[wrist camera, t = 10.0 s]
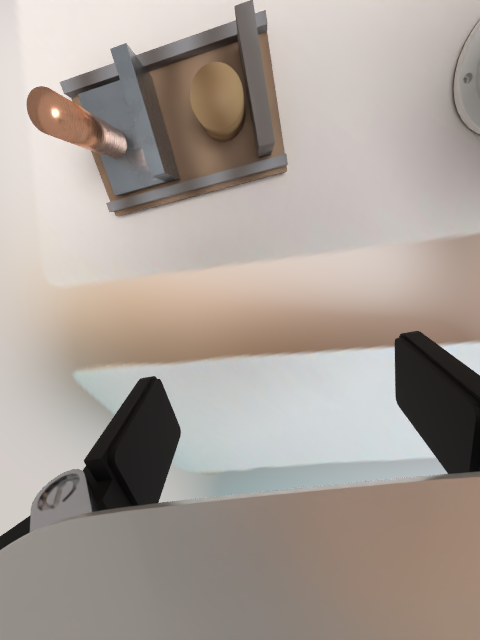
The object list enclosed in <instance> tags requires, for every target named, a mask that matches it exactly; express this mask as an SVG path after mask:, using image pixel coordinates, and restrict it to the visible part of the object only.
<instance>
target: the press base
mask: <svg viewBox="0 0 480 640" xmlns="http://www.w3.org/2000/svg"><path fill="white" fill-rule="evenodd" d="M235 15H236V21H233V22H230V23H227V24H224V25H221V26H219V27H216V28H213V29H210V30H207V31H204V32H201V33H199V34H196V35H193V36H190V37H187V38H184V39H182V40H179V41H176V42H173V43H170V44H167V45H164V46H162V47H159V48H156V49H153V50H150V51H147V52H144V53H142V54H139V55H136V57H137V58H138V59H139V60H140V62H141V63H142V64H143V66H144V67H145V68H146V70H147V71H148V72H149V73H150V75H151V76H152V79H153V83H154V87H155V90H156V94H157V97H158V101H159V104H160V108H161V112H162V115H163V119H164V122H165V126H166V129H167V133H168V137H169V140H170V144H171V147H172V151H173V154H174V158H175V162H176V165H177V169H178V172H179V176H180V180H176V181H172V182H169V183H165V184H162V185H158V186H154V187H151V188H147V189H143V190H140V191H136V192H133V193H129V194H125V195H122V196H115V195H114V192H113V189H112V186H111V184H110V181H109V178H108V176H107V173H106V170H105V167H104V165H103V162H102V159H101V157H100V154H99V153H97V152H94V151H92V150H91V151H92V154H93V156H94V159H95V162H96V164H97V167H98V170H99V172H100V175H101V178H102V180H103V183H104V186H105V188H106V191H107V194H108V196H109V199H110V202H109V203H106V204H107V206H108V209H109V212H115V215H116V216H122V215H126V214H129V213H133V212H137V211H141V210H144V209H148V208H152V207H156V206H160V205H163V204H167V203H171V202H175V201H178V200H182V199H186V198H190V197H194V196H197V195H201V194H205V193H209V192H212V191H216V190H220V189H224V188H227V187H231V186H235V185H239V184H243V183H246V182H250V181H254V180H258V179H261V178H265V177H269V176H273V175H277V174H280V173H284V172H286V171H287V167H286V165H287V157H286V154H285V153H284V146H283V139H282V132H281V126H280V119H279V112H278V105H277V98H276V91H275V84H274V78H273V71H272V64H271V57H270V50H269V43H268V36H267V18H266V11H265V10H264V11H261V12H259V13H256V14H255V12H254V5H253V0H250V1H248V2H245V3H242V4H239V5H236V6H235ZM211 62H222V63H225V64H227V65H228V66H230V67H231V68H232V69H233V70H234V71H235V72H236V73H237V75H238V76H239V78H240V81H241V83H242V87H243V95H244V104H245V121H244V125H243V127H242V129H241V131H240V132H239V134H238V135H237V136H236V137H234V138H233V139H231V140H228V141H218V140H215V139H213V138H212V137H210V136H209V135H208V134H207V132H206V131H205V130H204V128H203V126H202V125H201V123H200V122H199V120H198V118H197V117H196V115H195V113H194V111H193V109H192V106H191V101H190V88H191V84H192V81H193V78H194V76H195V74H196V73H197V72H198V70H199V69H200V68H201V67H203V66H204V65H206V64H208V63H211ZM118 80H120V78H119V75H118V72H117V69H116V65H115V63H113V64H110V65H107V66H105V67H102V68H99V69H96V70H93V71H90V72H87V73H85V74H82V75H79V76H76V77H73V78H70V79H68V80H65V81H62V82H60V84H61V86H62V89H63V92H64V94H66V95H67V96H69V97H71V98H72V101H73V103H75V104H76V105H78V106H80V107H81V108H82V105H81V102H80V100H79V97H78V94H80V93H83V92H86V91H89V90H92V89H95V88H98V87H101V86H104V85H107V84H110V83H112V82H115V81H118Z"/></svg>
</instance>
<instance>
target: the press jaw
mask: <svg viewBox="0 0 480 640" xmlns="http://www.w3.org/2000/svg"><path fill="white" fill-rule="evenodd" d="M110 50H111V53H112V56H113V59H114V62H115V65H116V69H117V72H118V75H119V78H120V80H118V81H115V82H112V83H110V84H107V85H104V86H101V87H98V88H95V89H92V90H89V91H86V92H83V93H80V94H78V97H79V100H80V102H81V105H82V108H81V107H80V106H78V105H76V104H75V103H73V102H71V101H70V100H68V99H66V98H65V97H63V96H61V95H60V94H58V93H56V92H55V91H53V90H51V89H49V88H47V87H42V86H41V87H36V88H34V89H33V90H32V91H31V92H30V93H29V95H28V98H27V111H28V114H29V117H30V119H31V121H32V123H33V124H34V125H35V126H36V127H37V128H38V129H39V130H40V131H41V132H43V133H45V134H48V135H51V136H53V137H56V138H59V139H62V140H64V141H67V142H70V143H73V144H75V145H78V146H81V147H83V148H86V149H89V150H92V151H94V152H97V153H99V154H100V157H101V159H102V162H103V165H104V167H105V170H106V173H107V176H108V178H109V181H110V184H111V186H112V189H113V192H114V195H115V196H122V195H125V194H129V193H133V192H136V191H140V190H143V189H147V188H151V187H154V186H158V185H162V184H165V183H169V182H172V181H176V180H180V176H179V172H178V169H177V165H176V162H175V158H174V154H173V151H172V147H171V144H170V140H169V137H168V133H167V129H166V126H165V122H164V119H163V115H162V112H161V108H160V104H159V101H158V97H157V94H156V90H155V87H154V83H153V79H152V76H151V75H150V73H149V72H148V71H147V70H146V68H145V67H144V66H143V64H142V63H141V62H140V60H139V59H138V58H137V57H136V55H135V54H134V53H133V51H132V50H131V49H130V47H129V46H128V45H127V44H123V45H120V46H117V47H114V48H112V49H110Z"/></svg>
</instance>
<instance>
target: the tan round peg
mask: <svg viewBox="0 0 480 640" xmlns="http://www.w3.org/2000/svg"><path fill="white" fill-rule="evenodd" d="M190 101H191V106H192V109H193V111H194V113H195V115H196V117H197V118H198V120H199V122H200V123H201V125H202V126H203V128H204V130H205V131H206V132H207V134H208V135H209V136H210V137H212V138H213V139H215V140H218V141H228V140H231V139H233V138H234V137H236V136H237V135H238V134H239V132H240V131H241V129H242V127H243V125H244V121H245V104H244V95H243V87H242V83H241V81H240V78H239V76H238V75H237V73H236V72H235V71H234V70H233V69H232V68H231V67H230V66H228V65H227V64H225V63H222V62H211V63H208V64H206V65H204V66H203V67H201V68H200V69H199V70H198V72H197V73H196V74H195V76H194V78H193V81H192V84H191V88H190Z"/></svg>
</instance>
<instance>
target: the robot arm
mask: <svg viewBox="0 0 480 640" xmlns="http://www.w3.org/2000/svg"><path fill="white" fill-rule="evenodd" d="M454 100H455V104H456V107H457V111H458V113H459V115H460V117H461V119H462V121H463V122H464V123H465V124H466V125H467V126H468V127H469V128H470V129H471V130H472V131H474V132H476V133H477V134H480V21H479V22H478V23H477V25H476V26H475V27H474V29H473V30H472V32H471V34H470V36H469V37H468V39H467V41H466V43H465V45H464V47H463V49H462V52H461V54H460V57H459V60H458V64H457V68H456V72H455V78H454ZM395 387H396V401H397V403H398V405H399V407H400V408H401V410H402V411H403V413H404V414H405V415H406V417H407V418H408V419H409V421H410V422H411V423H412V425H413V426H414V428H415V429H416V430H417V432H418V433H419V434H420V436H421V437H422V438H423V440H424V441H425V443H426V444H427V445H428V447H429V448H430V449H431V451H432V452H433V453H434V455H435V456H436V458H437V459H438V460H439V462H440V463H441V464H442V466H443V467H444V468H445V470H446V471H447V473H448V474H443V475H429V476H417V477H406V478H396V479H386V480H376V481H365V482H355V483H345V484H335V485H324V486H314V487H305V488H295V489H285V490H275V491H266V492H256V493H246V494H237V495H228V496H218V497H209V498H200V499H191V500H181V501H172V502H163V503H158V502H159V499H160V496H161V493H162V490H163V487H164V483H165V481H166V478H167V474H168V472H169V469H170V466H171V463H172V460H173V457H174V454H175V451H176V448H177V445H178V442H179V439H180V434H181V430H180V426H179V424H178V421H177V419H176V416H175V414H174V411H173V409H172V406H171V404H170V402H169V399H168V397H167V394H166V392H165V389H164V387H163V384H162V382H161V380H160V379H157V378H156V377H154V376H152V377H146V378H141V379H140V380H139V381H138V382H137V384H136V385H135V387H134V388H133V390H132V391H131V392H130V394H129V395H128V397H127V398H126V400H125V401H124V403H123V404H122V406H121V407H120V409H119V410H118V411H117V413H116V414H115V416H114V417H113V419H112V421H111V422H110V423H109V425H108V426H107V427H106V429H105V430H104V432H103V434H102V435H101V436H100V438H99V439H98V441H97V442H96V444H95V445H94V446H93V448H92V449H91V451H90V452H89V454H88V455H87V457H86V458H85V460H84V462H85V464H86V467H85V468H84V470H83V471H82V470H79V469H73V470H70V471H67V472H64V473H62V474H60V475H58V476H57V477H56V478H54V479H53V480H51V481H50V482H49V483H48V484H47V485H46V486H44V487H43V488H42V490H41V491H40V492H39V493H38V495H37V496H36V497H35V499H34V501H33V503H32V507H31V515H30V516H29V517H28V518H26V519H25V520H23V521H22V522H20V523H19V524H17V525H16V526H15V527H13V528H12V529H10V530H9V531H8V532H6V533H5V534H3V535H2V536H0V640H480V375H478V374H477V373H475V372H474V371H473V370H471V369H470V368H469V367H467V366H466V365H465V364H463V363H462V362H460V361H459V360H458V359H456V358H455V357H454V356H452V355H451V354H450V353H448V352H447V351H446V350H444V349H443V348H441V347H440V346H439V345H437V344H436V343H435V342H433V341H432V340H430V339H429V338H428V337H427V336H425V335H424V334H422V333H421V332H419V331H414V332H408V333H403V334H400V336H399V338H397V339H395Z"/></svg>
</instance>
